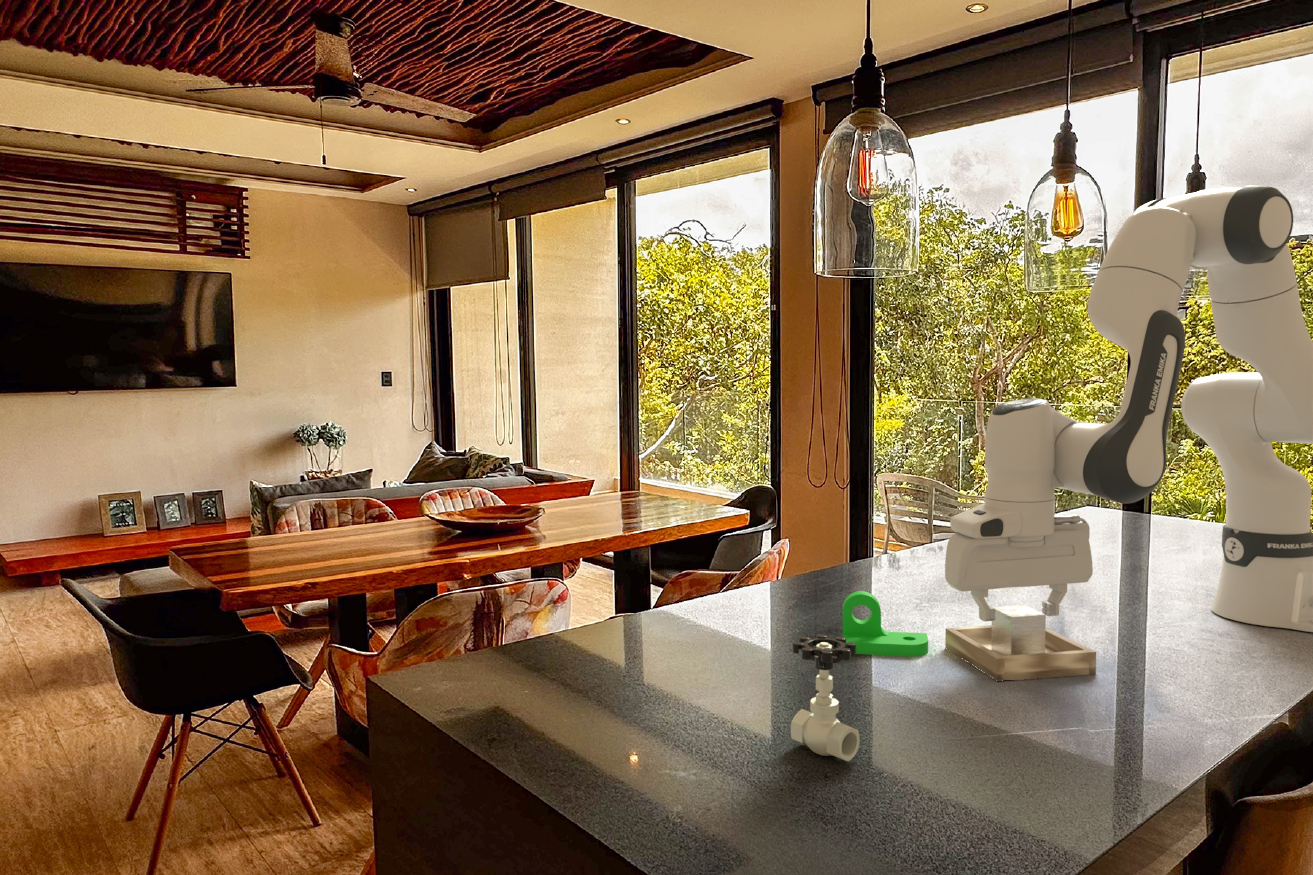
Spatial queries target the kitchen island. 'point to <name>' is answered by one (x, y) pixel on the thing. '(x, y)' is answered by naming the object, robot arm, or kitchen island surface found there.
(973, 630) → the tray
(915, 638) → the mechanical part
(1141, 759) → the kitchen island surface
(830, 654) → the valve
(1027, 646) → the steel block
